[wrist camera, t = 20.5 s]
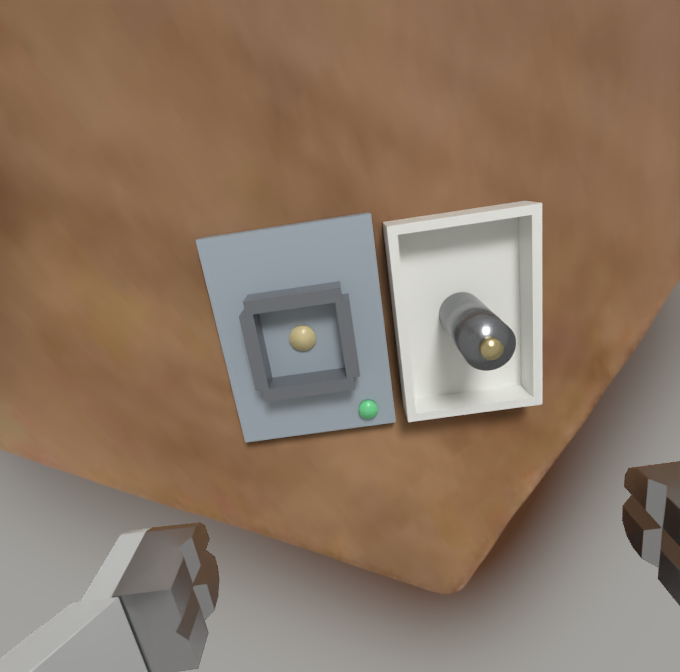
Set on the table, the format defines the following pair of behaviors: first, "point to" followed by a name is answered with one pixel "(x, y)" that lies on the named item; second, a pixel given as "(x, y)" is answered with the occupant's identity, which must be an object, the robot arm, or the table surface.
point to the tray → (483, 282)
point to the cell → (477, 331)
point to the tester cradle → (301, 326)
